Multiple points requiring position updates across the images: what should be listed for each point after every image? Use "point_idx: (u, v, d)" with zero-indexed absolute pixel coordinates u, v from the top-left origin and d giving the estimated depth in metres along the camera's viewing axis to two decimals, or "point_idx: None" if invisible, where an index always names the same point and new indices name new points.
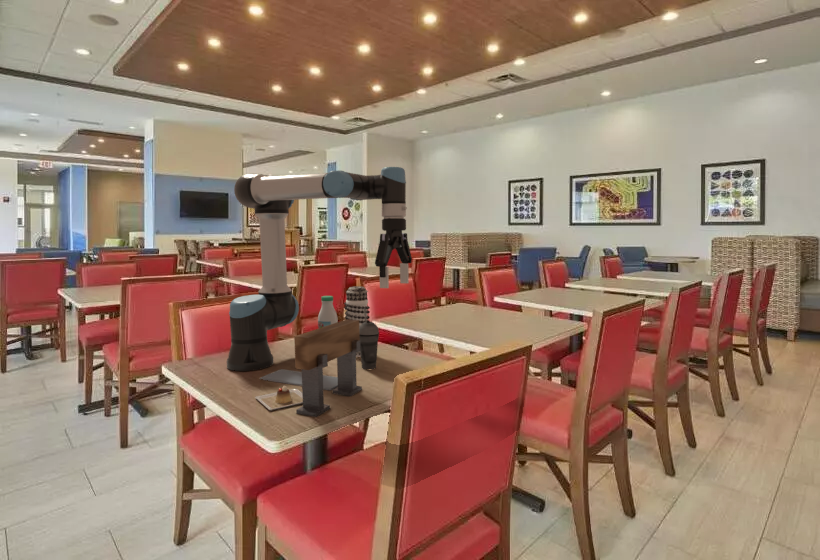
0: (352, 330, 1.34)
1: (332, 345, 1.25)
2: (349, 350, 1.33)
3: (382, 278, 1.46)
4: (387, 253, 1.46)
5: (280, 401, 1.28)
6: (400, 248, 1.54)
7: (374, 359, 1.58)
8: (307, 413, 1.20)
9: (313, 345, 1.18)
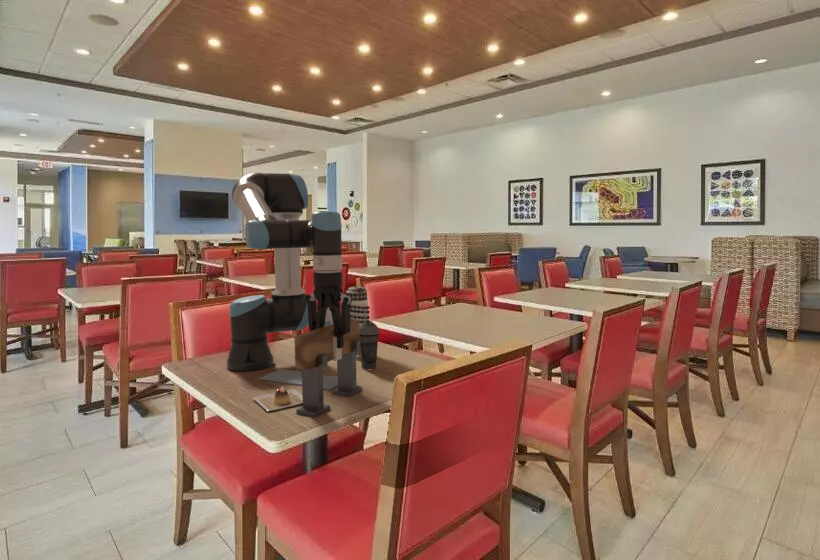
0: (352, 330, 1.34)
1: (332, 345, 1.25)
2: (349, 350, 1.33)
3: None
4: None
5: (278, 402, 1.28)
6: None
7: (374, 359, 1.58)
8: (307, 413, 1.20)
9: (313, 345, 1.18)
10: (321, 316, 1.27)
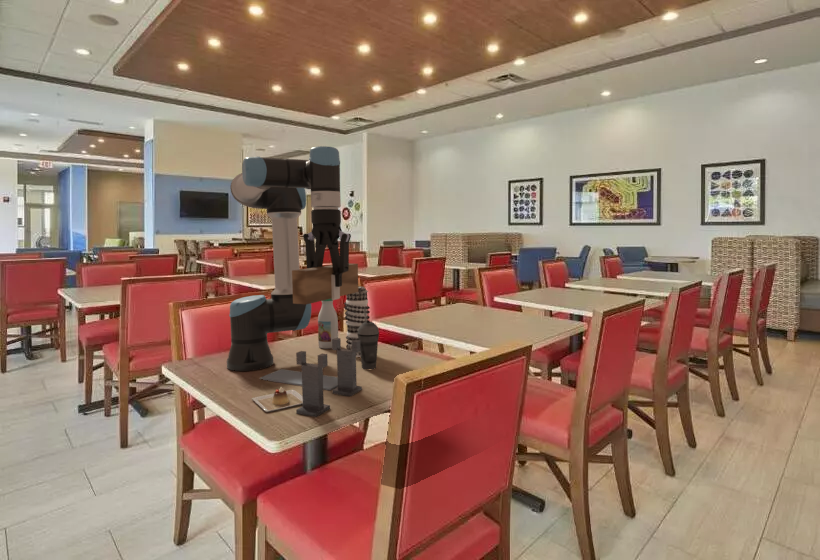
0: (351, 272, 1.33)
1: (330, 283, 1.24)
2: (347, 292, 1.32)
3: None
4: None
5: (277, 402, 1.27)
6: None
7: (374, 359, 1.58)
8: (307, 413, 1.20)
9: (311, 280, 1.16)
10: (319, 255, 1.26)
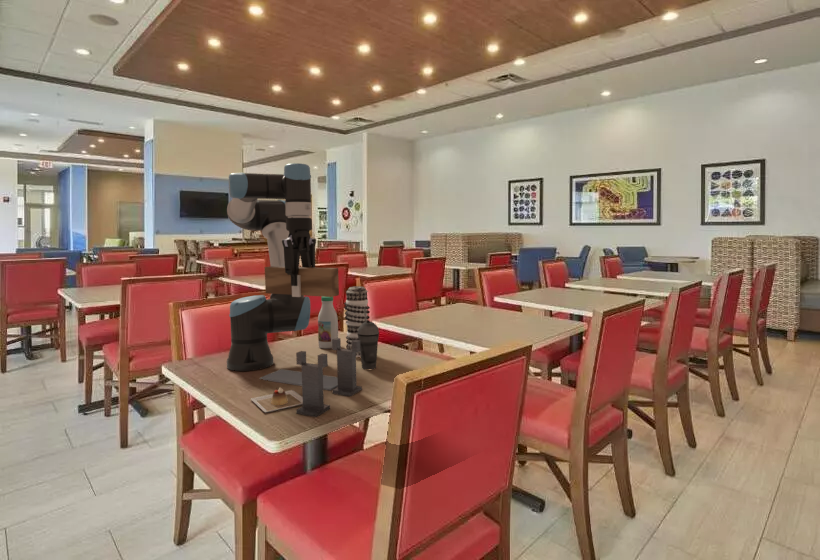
0: None
1: None
2: None
3: (294, 287, 1.42)
4: (295, 259, 1.41)
5: (276, 403, 1.27)
6: (304, 251, 1.45)
7: (374, 359, 1.58)
8: (307, 413, 1.20)
9: None
10: None
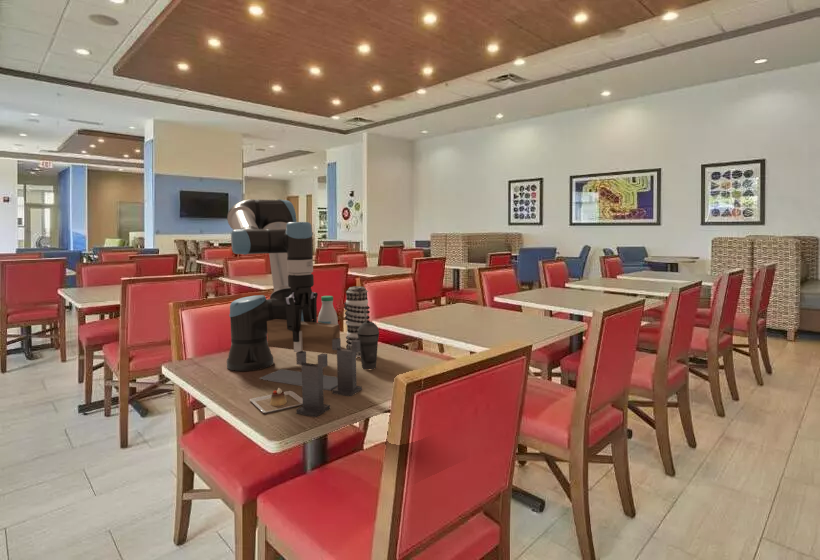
0: None
1: None
2: None
3: (296, 342, 1.44)
4: (297, 316, 1.43)
5: (275, 404, 1.27)
6: (306, 306, 1.47)
7: (374, 359, 1.58)
8: (307, 413, 1.20)
9: None
10: None
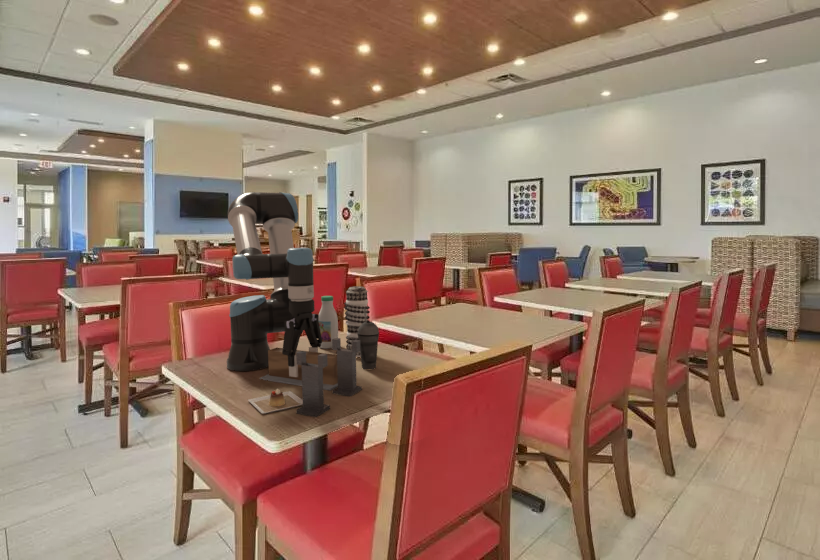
0: None
1: None
2: None
3: (291, 367, 1.43)
4: (294, 340, 1.42)
5: (273, 404, 1.26)
6: (308, 330, 1.48)
7: (374, 359, 1.58)
8: (307, 413, 1.20)
9: None
10: None
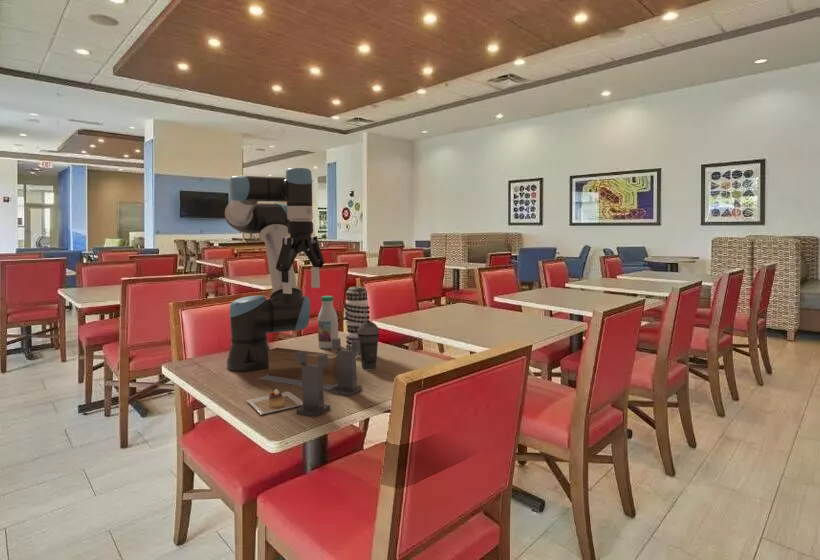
0: None
1: None
2: None
3: (285, 283, 1.41)
4: (290, 257, 1.41)
5: (272, 405, 1.26)
6: (309, 252, 1.49)
7: (374, 359, 1.58)
8: (307, 413, 1.20)
9: None
10: None
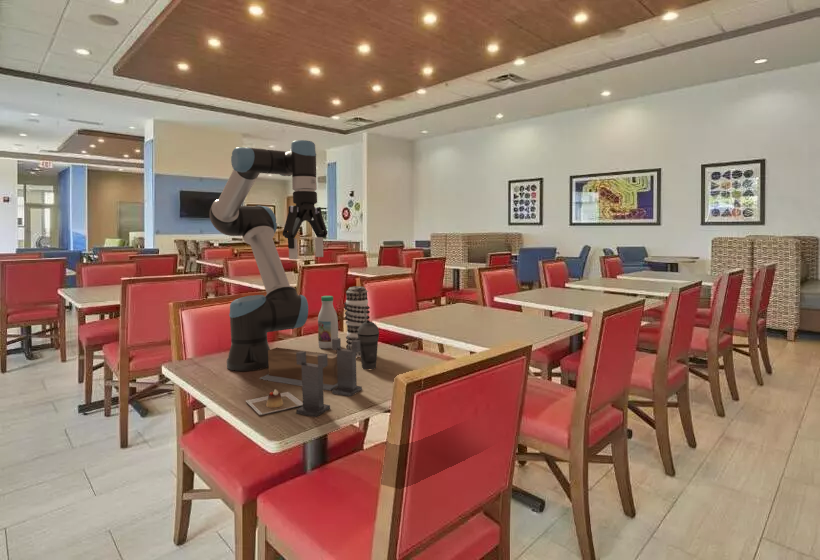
0: None
1: None
2: None
3: (291, 249, 1.49)
4: (296, 225, 1.49)
5: (271, 405, 1.25)
6: (313, 221, 1.57)
7: (374, 359, 1.58)
8: (307, 413, 1.20)
9: None
10: None
